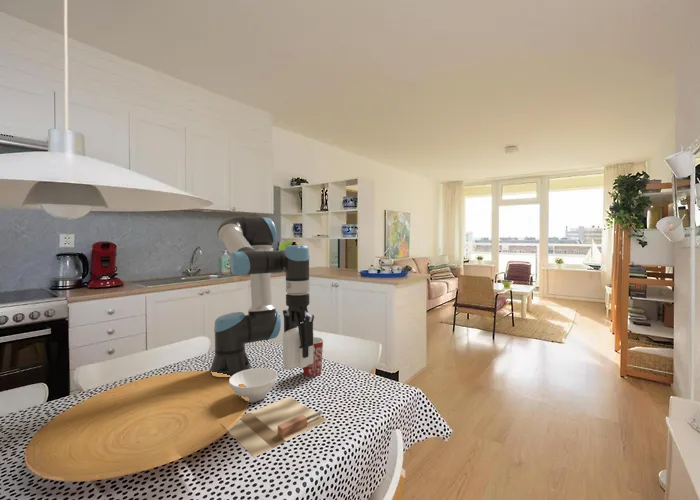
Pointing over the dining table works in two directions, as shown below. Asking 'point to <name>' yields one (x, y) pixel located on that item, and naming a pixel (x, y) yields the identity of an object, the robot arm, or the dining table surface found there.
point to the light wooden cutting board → (271, 425)
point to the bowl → (253, 383)
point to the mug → (315, 359)
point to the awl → (294, 424)
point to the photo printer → (293, 349)
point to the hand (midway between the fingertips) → (298, 364)
